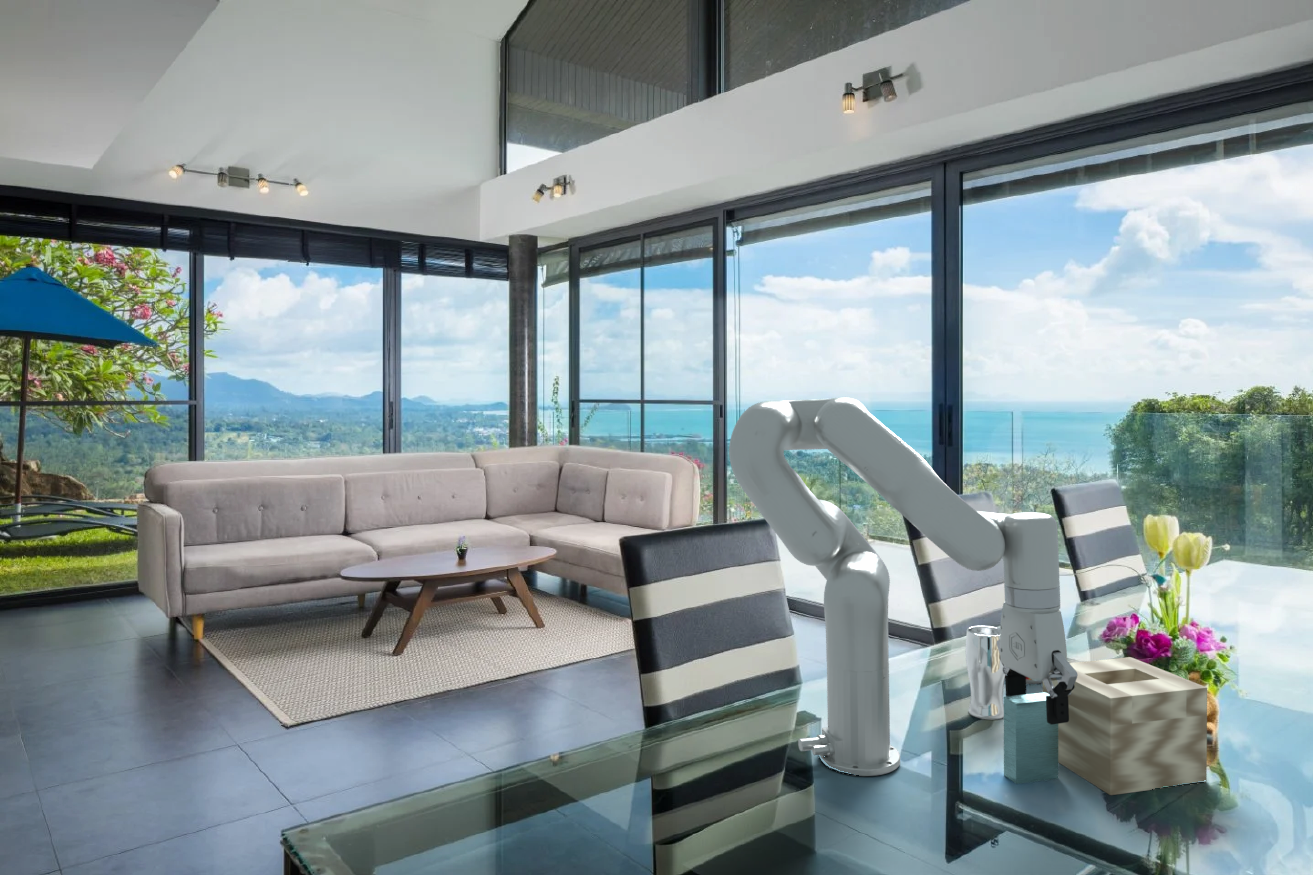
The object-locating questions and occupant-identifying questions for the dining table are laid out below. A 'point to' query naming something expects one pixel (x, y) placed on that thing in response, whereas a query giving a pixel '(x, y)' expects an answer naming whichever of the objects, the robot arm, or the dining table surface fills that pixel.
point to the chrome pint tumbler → (985, 672)
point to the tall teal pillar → (1029, 739)
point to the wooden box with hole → (1133, 727)
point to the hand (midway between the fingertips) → (1036, 711)
